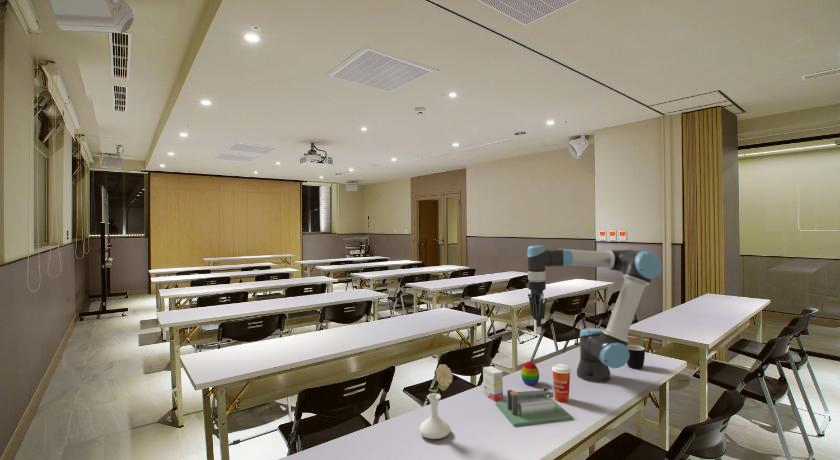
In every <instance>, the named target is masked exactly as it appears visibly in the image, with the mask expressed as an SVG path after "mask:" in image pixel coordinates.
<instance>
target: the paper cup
mask: <svg viewBox="0 0 840 460" xmlns="http://www.w3.org/2000/svg"><path fill="white" fill-rule="evenodd" d="M551 371H552V379H553V380H552V383H553V396H554V401H555V402H556V401H557V402H559V403H567V402H569V401H570V381H571V380H570V379H571V373H572V370H571V368H570V367H569V365H566V364H561V363H555V364H554V365H553V366H552V368H551Z"/></svg>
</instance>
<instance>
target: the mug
mask: <svg viewBox="0 0 840 460" xmlns="http://www.w3.org/2000/svg"><path fill="white" fill-rule="evenodd" d="M627 348H628V350H629V354H630V355H629V360H628V361H627V363H626V365H627V367H628V368H630V369H633V370H642V369H643V367H644V365H645V364H644V363H645V360H646V359H645V357H646V348H645V347H644V346H641V345H637V344H628V345H627Z"/></svg>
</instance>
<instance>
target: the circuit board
mask: <svg viewBox="0 0 840 460" xmlns="http://www.w3.org/2000/svg"><path fill="white" fill-rule="evenodd" d="M554 403H555V413H551V414H543V415H535V416H527V417H521V416H520V415H519V414H516V415H513V414H512V409H510V410H508V407H507V400H506V401H505V400H504V401H498V402H497V401H496V402H495V406H496V407H497V409H499V411H500V412H501V413H502V414H503V416H505V418H506V419H507V421H508V422H509V423H510V424H511V425H512V426H513V427H520V426H529V425H535V424H536V425H537V424H544V423H545V424H546V423H551V422H560V421H561V422H562V421H567V420H573V415H572V414H570V413H569V412H568V411H567V410H565V409H564V408H563V407H562V406H561V405H559V404H558V403H557V402H556V400H554Z"/></svg>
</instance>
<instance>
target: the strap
mask: <svg viewBox="0 0 840 460" xmlns="http://www.w3.org/2000/svg"><path fill="white" fill-rule="evenodd" d="M549 392H550V390H549V389H548V390H547V389H546V390H543V389H542V390H540V389H539V390H529V391H527V390H526V391H515V390H513V391H511V392H510V396H511V397H512V395H516V394H517V397H530V396H544V395H547V396H549Z"/></svg>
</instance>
